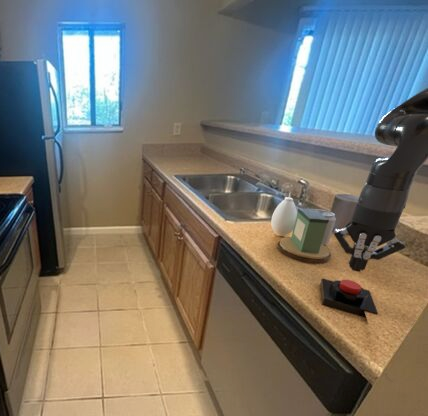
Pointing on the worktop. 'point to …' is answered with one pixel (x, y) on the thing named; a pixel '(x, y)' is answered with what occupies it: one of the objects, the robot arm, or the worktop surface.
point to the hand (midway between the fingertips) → (355, 269)
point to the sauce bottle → (284, 217)
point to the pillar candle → (343, 209)
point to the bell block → (346, 299)
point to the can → (328, 225)
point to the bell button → (350, 286)
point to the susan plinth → (302, 259)
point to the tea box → (307, 235)
